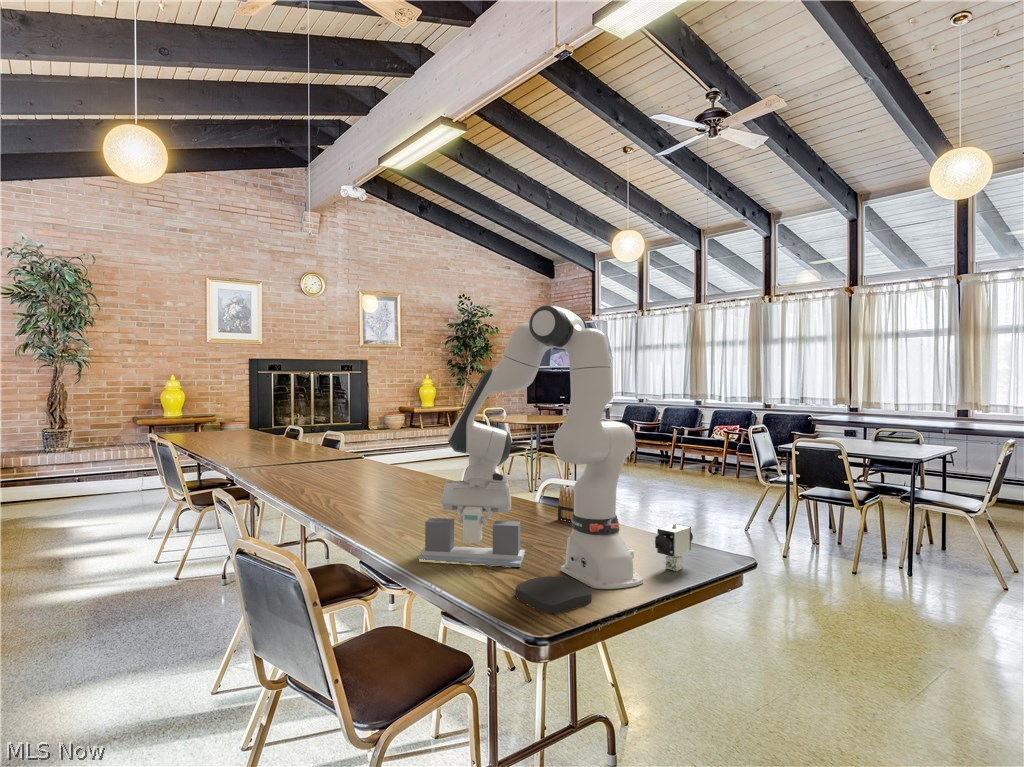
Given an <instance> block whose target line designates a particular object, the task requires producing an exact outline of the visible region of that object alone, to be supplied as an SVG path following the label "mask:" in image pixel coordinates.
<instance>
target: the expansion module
mask: <svg viewBox="0 0 1024 767" xmlns="http://www.w3.org/2000/svg"><path fill="white" fill-rule="evenodd" d="M462 515H463V524H462V543H463V544H467V543H468V544H480V542H481V541H482V539H483V525H482V524H481V523H480V519H481V516H484V514H483V507H477V506H466V507H465V509H464V510H463V514H462Z"/></svg>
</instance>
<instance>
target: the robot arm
mask: <svg viewBox="0 0 1024 767" xmlns="http://www.w3.org/2000/svg"><path fill="white" fill-rule="evenodd" d="M550 349H553V350H554V351H555V350H557V351H560V350H562V351H565V352H566V353H567V355H568V360H569V362H568V363H569V378H570V400H569V401H570V403H569V407H568V412H567V414H566V417H565V419H564V421H563V422H562V424H561V425H560V427H558V428H557V430H556V431H555V433H554V436H553V439H552V440H553V442H552V446H553V451H554V453H555V455H556V457H557V458H558V459H559V460H560V461H561V462H562V463H567V464H571V465H572V464H573V465H585V468H584V471H583V472H582V475H581V476H580V477H579V478H578V479H577V480H576V481H575V483H574V486H573V490H574V513H573V514H572V523H571V527H572V531H571V533H570V535H568V537H567V540H566V541H567V542H566V550H565V551H566V552H565V563H564V564H563V565H561V566H560V571H561V572H562V573H564V574H566V575H568V576H570V577H572V578H573V579H574V580H575V579H576V581H578V582H580V583H582V584H584V585H585V586H587V587H588V586H589V587H590V588H593V589H599V590H601V589H602V590H615V589H617V590H618V589H624V588H630V587H636V586H639V585H641V584H643V583H644V579H643V577H642V576H641V575H640V574H639V573H638V572H637V571H636V570H635V569H634V558H635V557H634V556H635V553H634V550H633V549H628V546H627V544H626V542H625V541H624V539H623V538H622V535H621V534H620V528H621V527H620V523H619V519H618V516H617V514H616V511H617V506H616V505H617V487H618V482H619V477H620V474H621V471H622V468H623V466H624V464H625V461H626V459H627V458H628V457H629V456H630V455H631V453H632V452H633V451H634V448H635V446H636V436H635V434H634V431H633V429H632V428H631V427H630V426H629V424H627V423H624V422H620V421H616V420H612V419H611V420H603V415H604V414H603V413H604V410H605V408H606V406H607V405H608V404H610V402H611V401H612V400H613V396H614V387H613V376H612V362H611V356H610V349H609V346H608V340H607V337H606V334H605V333H604V332H603V331H601V330H600V329H598V328H593V327H592V328H591V327H589V326H588V324H587V322H586V321H585V319H584V318H583V317H582V316H581V315H579V314H577V313H574V312H572V311H571V310H569V309H568V308H564V307H560V306H558V305H553V304H548V305H547V304H546V305H542V306H540V307H537V308H536V309H535V310H534V311H533V313H532V314H531V316H530V318H529V322H522V323H520V324H519V323H518V325H517V326H516V327H515V329H514V330H513V332H512V334H511V335H510V337H509V339H508V341H507V344H506V346H505V348H504V351H503V354H502V356H501V358H500V361H499V362H498V363H497V364H496V365H495V366H494V367H493V368H487V370H485V372H484V373H483V374H482V375H481V377H480V379H479V380H478V382H477V383H476V386H475V387H474V389H473V391H472V393H471V394H470V396H469V398H468V399H467V402H466V403H465V405H464V407H463V409H462V411H460V412H461V413H459V415H458V417H457V418H456V420H455V422H454V423H453V424H452V426H451V427H450V430H449V433H448V439H447V441H448V444H449V445H450V447H451V449H452V451H454V452H455V453H460V454H465V455H466V454H467V455H469V456H468V466H467V468H466V471H465V476H464V480H450V481H447V482H445V483H444V485H443V489H442V491H443V492H442V495H441V497H440V506H441V508H442V509H443V511H455V512H456V511H457V513H458V516H459V518H458V519H459V520H458V521H459V522H458V523H459V524H462V525H463V510H464V509H465V507H466V506H477V507H483V512H484V513H485V514H483V516H481V519H480V523H481V524H482V526H484V525H487V520H488V519H489V518H490V517H491V516H492V514H493V513H505V514H507V513H509V512H511V509H512V496H511V491H510V483H509V478H508V477H507V475H504V474H502V473H499V472H496V467H497V466H498V467H499V466H501V465H502V464H503V463H505V462H506V461H507V460H508V459H509V456H510V454H511V448H512V437H511V435H510V434H509V432H508V431H506V430H504V429H501V428H498V427H495V426H491V425H487V424H484V423H481V422H478V421H476V420H475V418H476V417H477V415H478V413H479V411H480V409H481V408H482V406H483V404H484V402H485V400H486V399H487V398H488V397H489V396H490V395H492V394H495V393H496V394H497V393H501V392H517V391H521V390H525V389H526V388H528V387H530V385H531V384H533V382H534V380H535V378H536V376H537V374H538V373H539V368H540V365H541V363H542V360H543V357H544V355H545V353H546V352H547V351H548V350H550Z"/></svg>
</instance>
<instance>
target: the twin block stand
mask: <svg viewBox="0 0 1024 767" xmlns="http://www.w3.org/2000/svg"><path fill="white" fill-rule="evenodd" d="M424 524H425V525H424V526H425V529H424V530H425V531H424V532H425V533H424V548H423V549H422V550H421V551H420V555H419V556H418V558H417V560H418V559H423V560H424V559H425V560H435V561H446V562H459V563H471V564H485V565H499V566H511V567H520V566H521V567H522V564H523V561H524V559H523V558H525V556H526V550H525V549H521V521H520V520H519V521H515V520H495V521H494V523H492V547H475V546H474V547H472V546H455V518H445V517H444V518H441V517H440V518H439V517H429V518H428V519H427V520H426V521H425V523H424ZM524 555H525V556H524ZM522 560H523V561H522ZM521 563H522V564H521ZM511 567H510V568H511ZM521 567H520V568H521Z"/></svg>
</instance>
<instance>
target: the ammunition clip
mask: <svg viewBox="0 0 1024 767" xmlns="http://www.w3.org/2000/svg"><path fill="white" fill-rule="evenodd" d="M559 488H560V489H559V495H558V496H559V497H558V506H557V520H558V519H562V520H566V521H570V522H572V514H573V513H574V488H572V489H571V488H569V487H568V488H567V487H564V488H563V487H562V486H560V487H559ZM570 522H569V523H570Z"/></svg>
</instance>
